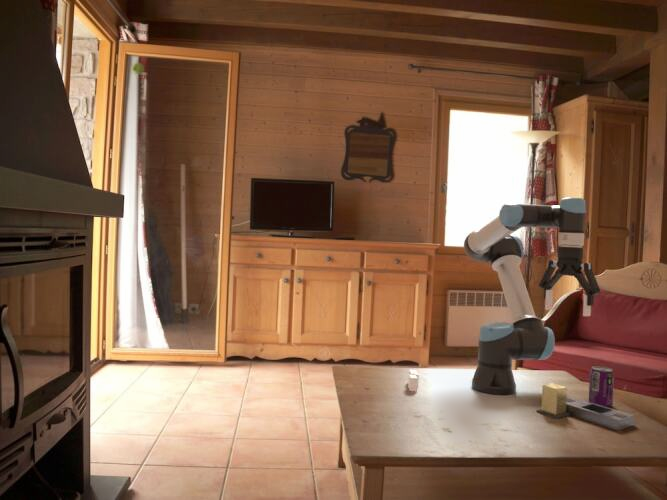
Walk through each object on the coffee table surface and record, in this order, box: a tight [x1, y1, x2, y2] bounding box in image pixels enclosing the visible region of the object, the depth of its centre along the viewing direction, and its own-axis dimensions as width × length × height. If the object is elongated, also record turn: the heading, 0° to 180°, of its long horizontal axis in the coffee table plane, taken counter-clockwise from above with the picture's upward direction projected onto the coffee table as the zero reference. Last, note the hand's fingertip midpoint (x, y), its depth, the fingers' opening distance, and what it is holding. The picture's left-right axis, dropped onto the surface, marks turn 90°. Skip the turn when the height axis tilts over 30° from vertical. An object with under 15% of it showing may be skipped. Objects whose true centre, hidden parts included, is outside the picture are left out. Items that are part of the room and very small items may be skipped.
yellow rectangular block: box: [540, 382, 568, 415], centre depth 162 cm, size 5×5×8 cm
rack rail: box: [566, 395, 635, 431], centre depth 160 cm, size 22×9×3 cm, turn 34°
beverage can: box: [588, 366, 615, 408], centre depth 173 cm, size 7×7×12 cm
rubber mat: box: [536, 408, 571, 420], centre depth 162 cm, size 7×7×1 cm
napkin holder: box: [407, 369, 419, 393], centre depth 184 cm, size 15×11×6 cm
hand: (566, 312), depth 167 cm, fingers open, 13 cm apart
